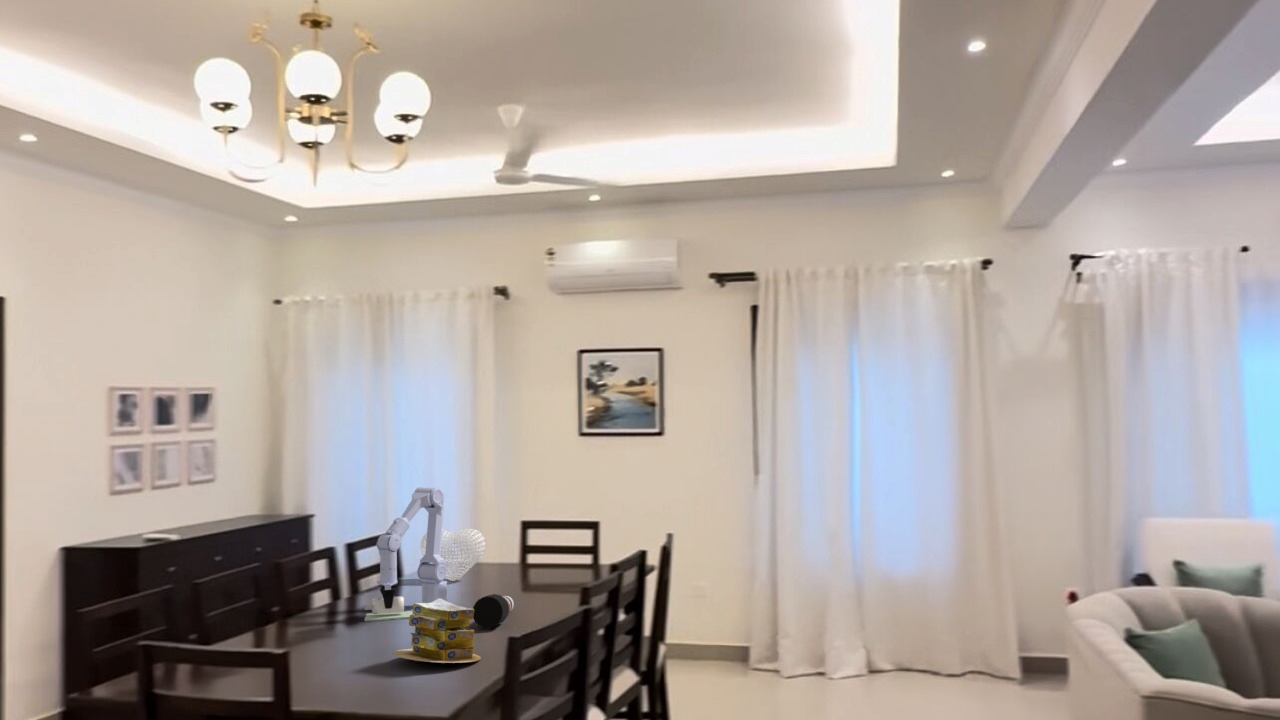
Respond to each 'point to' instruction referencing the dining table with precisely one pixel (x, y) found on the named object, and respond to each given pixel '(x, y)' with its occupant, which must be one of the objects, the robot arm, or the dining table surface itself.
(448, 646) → the stacked yellow boxes
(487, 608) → the dark bottle
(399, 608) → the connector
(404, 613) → the mat
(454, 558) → the heart
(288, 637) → the dining table surface
